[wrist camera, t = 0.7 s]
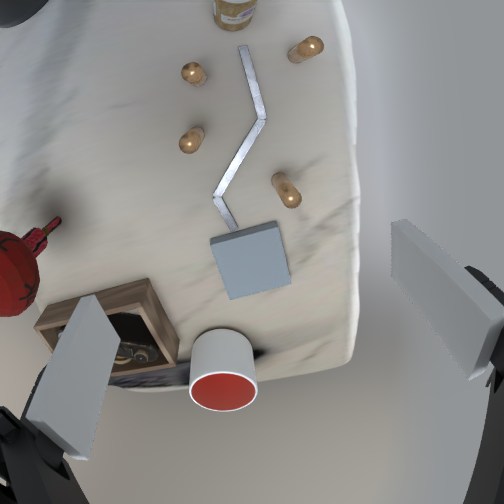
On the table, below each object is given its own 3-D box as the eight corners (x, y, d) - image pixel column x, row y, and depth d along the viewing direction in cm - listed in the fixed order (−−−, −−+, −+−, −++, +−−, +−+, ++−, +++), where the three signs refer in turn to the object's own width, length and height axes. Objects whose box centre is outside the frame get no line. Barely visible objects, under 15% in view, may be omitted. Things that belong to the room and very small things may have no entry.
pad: (210, 238, 42) (210, 245, 41) (275, 220, 42) (278, 226, 40) (229, 292, 46) (229, 300, 45) (288, 276, 46) (291, 283, 44)
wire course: (167, 68, 32) (153, 60, 25) (298, 36, 31) (317, 22, 24) (219, 233, 42) (218, 262, 35) (335, 202, 41) (357, 224, 34)
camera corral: (47, 305, 45) (33, 327, 40) (148, 278, 44) (139, 302, 39) (83, 357, 51) (73, 380, 45) (179, 340, 50) (176, 366, 45)
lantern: (30, 238, 39) (-87, 377, 13) (36, 181, 36) (-119, 301, 9) (81, 258, 42) (-19, 425, 15) (91, 200, 38) (-50, 358, 11)
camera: (74, 330, 48) (59, 362, 41) (69, 300, 45) (51, 331, 38) (163, 345, 51) (157, 381, 43) (164, 315, 48) (157, 351, 41)
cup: (251, 323, 50) (257, 369, 41) (252, 365, 54) (257, 409, 45) (188, 326, 49) (183, 373, 40) (196, 367, 53) (194, 412, 45)
